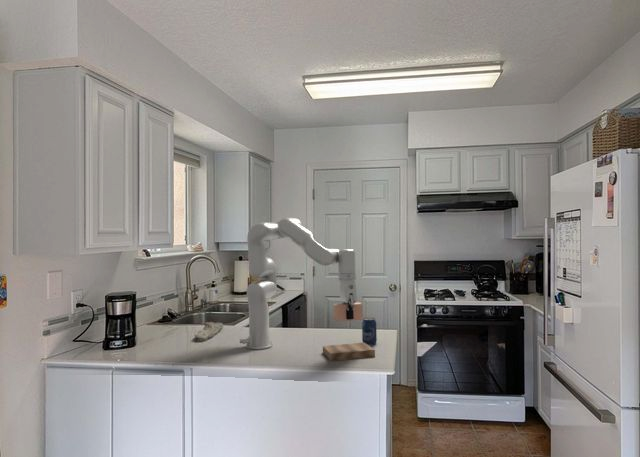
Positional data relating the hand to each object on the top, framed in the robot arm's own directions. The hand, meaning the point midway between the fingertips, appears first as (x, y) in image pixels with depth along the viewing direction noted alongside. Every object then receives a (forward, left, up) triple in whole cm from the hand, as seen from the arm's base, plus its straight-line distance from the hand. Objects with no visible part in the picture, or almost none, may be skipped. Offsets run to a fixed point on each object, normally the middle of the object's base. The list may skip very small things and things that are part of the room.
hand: (348, 317), depth 193 cm
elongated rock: (-59, +62, -17) cm, 87 cm away
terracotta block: (0, 0, -1) cm, 1 cm away
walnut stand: (0, 0, -16) cm, 16 cm away
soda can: (+16, +15, -17) cm, 27 cm away
